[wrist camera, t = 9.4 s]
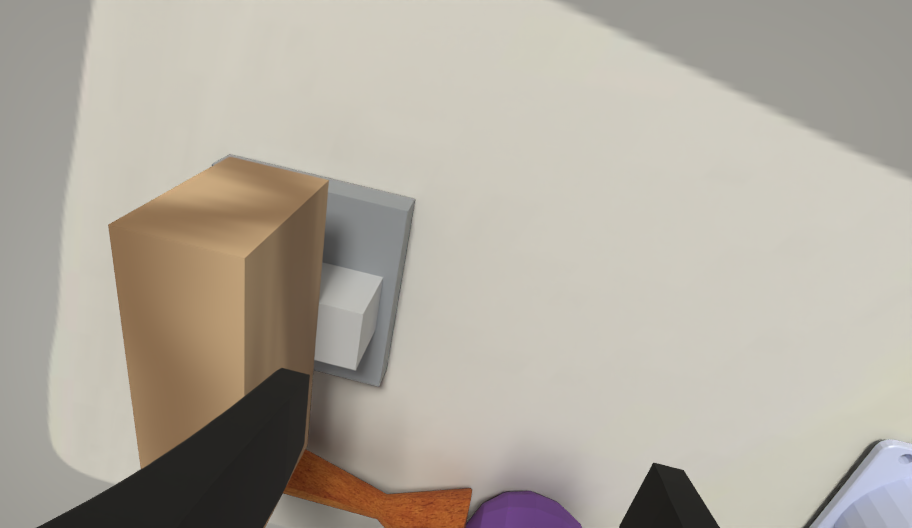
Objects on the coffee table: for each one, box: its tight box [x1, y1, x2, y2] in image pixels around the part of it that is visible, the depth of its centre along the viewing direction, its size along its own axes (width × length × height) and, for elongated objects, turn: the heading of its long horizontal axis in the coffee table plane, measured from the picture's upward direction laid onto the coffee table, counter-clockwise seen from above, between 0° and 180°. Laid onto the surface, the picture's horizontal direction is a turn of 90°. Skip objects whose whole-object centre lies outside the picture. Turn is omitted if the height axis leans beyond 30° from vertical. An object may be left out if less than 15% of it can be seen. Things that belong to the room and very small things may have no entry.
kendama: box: [283, 449, 582, 528], centre depth 24 cm, size 6×6×20 cm
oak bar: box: [108, 157, 329, 528], centre depth 16 cm, size 3×11×5 cm, turn 169°
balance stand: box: [212, 154, 415, 387], centre depth 20 cm, size 7×8×4 cm
